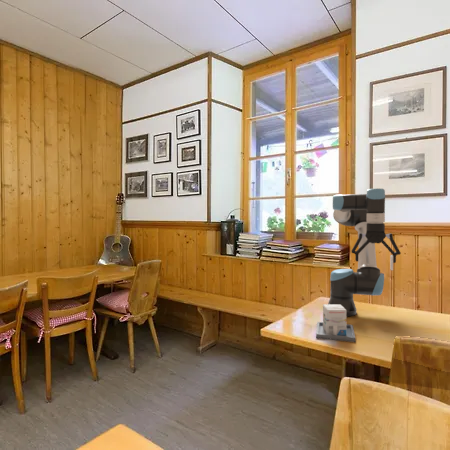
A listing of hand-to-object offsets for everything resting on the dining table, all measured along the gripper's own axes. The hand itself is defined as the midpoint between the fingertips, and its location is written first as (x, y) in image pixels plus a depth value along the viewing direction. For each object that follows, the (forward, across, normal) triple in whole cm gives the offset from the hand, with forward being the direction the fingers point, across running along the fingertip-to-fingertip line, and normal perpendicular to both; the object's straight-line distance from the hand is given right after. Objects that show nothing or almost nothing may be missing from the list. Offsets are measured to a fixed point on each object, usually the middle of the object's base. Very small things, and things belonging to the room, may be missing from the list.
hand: (375, 269), depth 147 cm
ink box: (+28, -18, -8) cm, 34 cm away
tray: (+29, -17, -8) cm, 34 cm away
